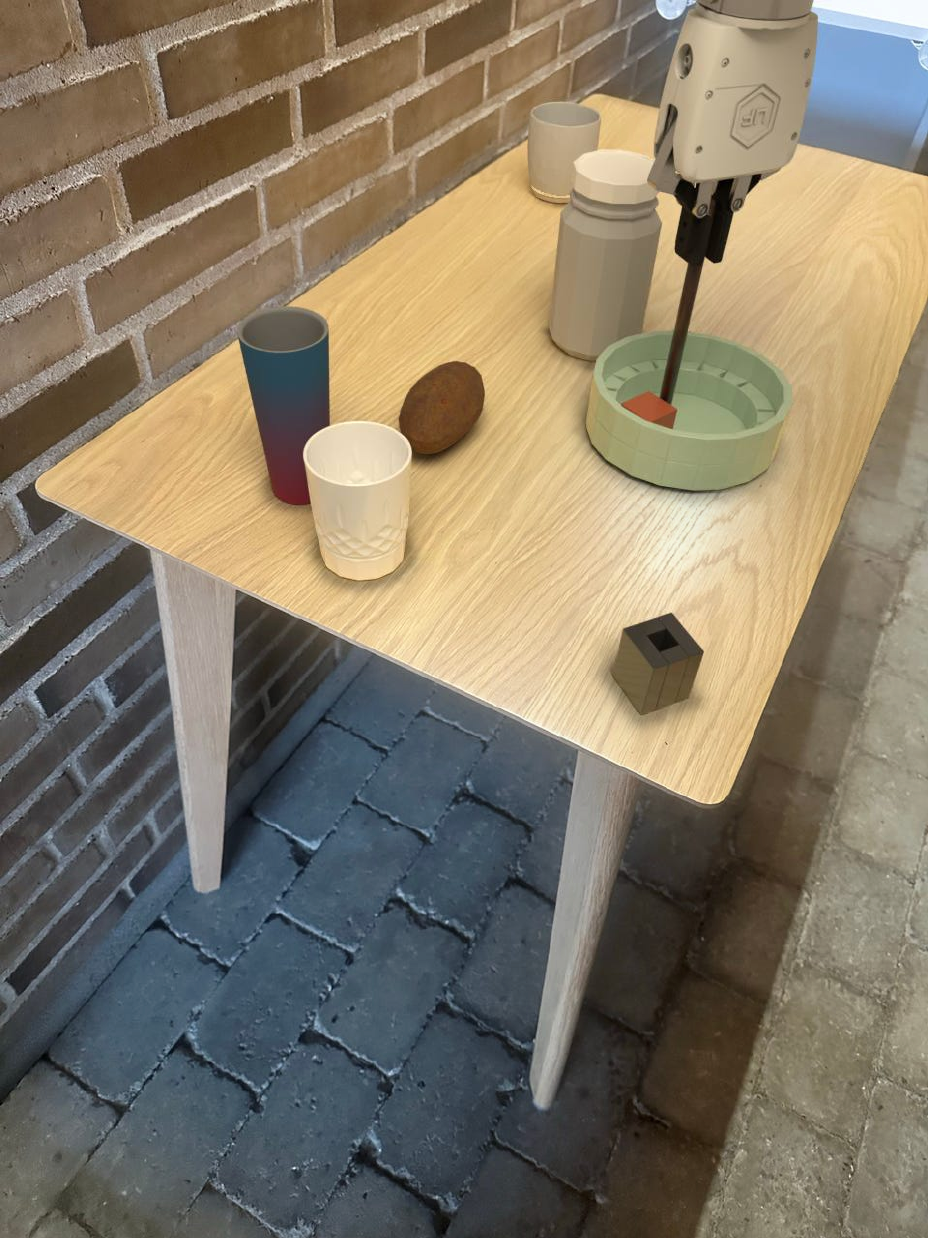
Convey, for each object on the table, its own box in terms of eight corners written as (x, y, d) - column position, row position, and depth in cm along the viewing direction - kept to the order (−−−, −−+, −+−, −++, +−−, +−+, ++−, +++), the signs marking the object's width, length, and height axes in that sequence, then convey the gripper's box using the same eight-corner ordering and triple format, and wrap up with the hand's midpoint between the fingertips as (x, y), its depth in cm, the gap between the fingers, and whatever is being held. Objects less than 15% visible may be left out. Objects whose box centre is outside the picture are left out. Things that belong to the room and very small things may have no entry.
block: (642, 423, 88) (648, 390, 86) (669, 442, 86) (677, 408, 84) (614, 436, 87) (620, 403, 84) (642, 455, 85) (649, 422, 82)
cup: (356, 480, 82) (347, 322, 71) (307, 522, 78) (289, 362, 67) (296, 453, 84) (277, 297, 73) (245, 492, 80) (217, 333, 69)
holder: (658, 659, 69) (671, 611, 65) (689, 698, 66) (704, 651, 63) (611, 675, 68) (622, 628, 64) (641, 716, 65) (654, 669, 61)
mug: (574, 213, 121) (584, 131, 114) (512, 198, 124) (518, 116, 117) (611, 180, 129) (623, 101, 122) (552, 166, 132) (560, 88, 125)
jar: (635, 371, 96) (669, 192, 83) (541, 358, 97) (559, 179, 84) (642, 324, 102) (674, 151, 89) (553, 312, 103) (572, 140, 90)
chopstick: (664, 408, 87) (712, 190, 72) (671, 415, 86) (721, 196, 71) (653, 411, 87) (699, 192, 72) (660, 418, 86) (708, 199, 71)
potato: (381, 464, 84) (379, 397, 79) (430, 397, 91) (431, 332, 86) (452, 483, 82) (454, 416, 77) (495, 413, 90) (500, 348, 85)
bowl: (703, 370, 96) (716, 316, 92) (813, 468, 85) (834, 412, 81) (552, 406, 91) (559, 350, 87) (649, 515, 80) (662, 458, 76)
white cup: (432, 552, 76) (433, 451, 69) (361, 602, 72) (355, 500, 64) (365, 508, 79) (359, 407, 72) (293, 553, 75) (280, 451, 68)
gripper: (690, 13, 57) (639, 295, 71) (886, -6, 62) (803, 262, 75) (627, -18, 62) (590, 252, 75) (813, -33, 67) (748, 224, 80)
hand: (697, 256), depth 75 cm, fingers closed on chopstick, 1 cm apart
